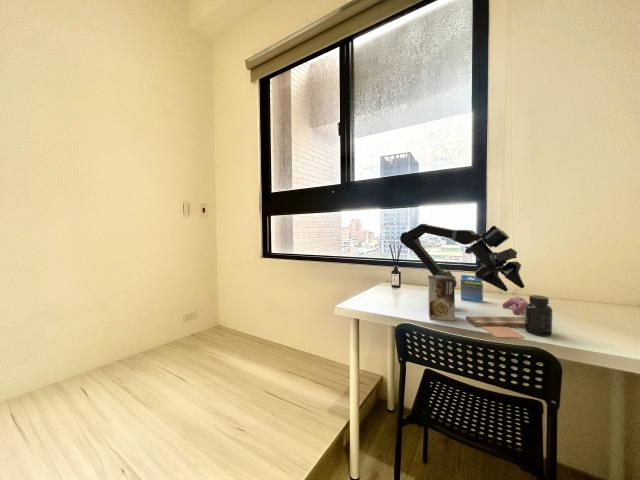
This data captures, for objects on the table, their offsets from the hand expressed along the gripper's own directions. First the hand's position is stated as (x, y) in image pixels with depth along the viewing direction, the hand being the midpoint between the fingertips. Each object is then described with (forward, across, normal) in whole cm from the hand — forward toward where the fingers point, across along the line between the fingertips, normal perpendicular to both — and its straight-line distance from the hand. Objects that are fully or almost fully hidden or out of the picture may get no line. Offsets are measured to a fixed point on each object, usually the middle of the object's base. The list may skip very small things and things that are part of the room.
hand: (515, 289), depth 91 cm
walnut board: (+7, -1, +11) cm, 13 cm away
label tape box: (-10, +14, +29) cm, 34 cm away
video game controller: (+3, +16, +16) cm, 23 cm away
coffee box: (-3, -17, +22) cm, 27 cm away
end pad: (+10, -10, +8) cm, 16 cm away
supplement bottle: (+14, 0, +4) cm, 15 cm away
